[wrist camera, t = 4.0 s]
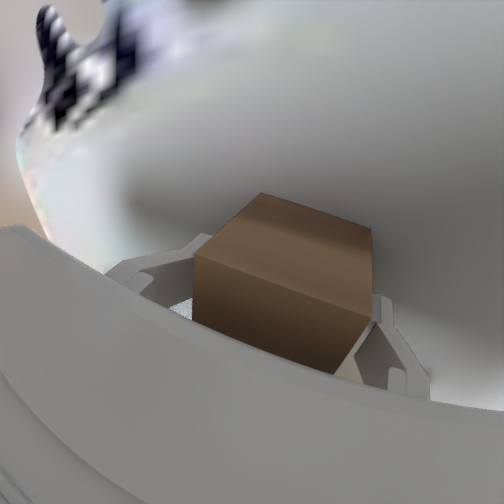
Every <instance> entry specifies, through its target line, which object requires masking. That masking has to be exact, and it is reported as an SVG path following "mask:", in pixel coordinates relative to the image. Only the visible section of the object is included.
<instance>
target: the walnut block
mask: <svg viewBox="0 0 504 504" xmlns="http://www.w3.org/2000/svg"><path fill="white" fill-rule="evenodd" d="M372 296H373V279H372V245H371V229H368V228H366V227H363V226H360V225H357V224H355V223H352V222H349V221H346V220H343V219H341V218H338V217H335V216H332V215H329V214H326V213H323V212H320V211H317V210H314V209H311V208H308V207H305V206H302V205H299V204H296V203H292V202H289V201H286V200H283V199H280V198H276V197H273V196H270V195H267V194H263V193H260V194H259V195H258V196H257V197H256V198H255V199H254V200H252V201H251V202H250V203H249V204H248V205H247V206H246V207H245V208H243V209H242V210H241V211H240V212H239V213H238V214H237V215H236V216H235V217H233V218H232V219H231V220H230V221H229V222H228V223H227V224H226V225H225V226H224V227H222V228H221V229H220V230H219V231H218V232H217V233H216V234H215V235H214V236H213V237H212V238H210V239H209V240H208V241H207V242H206V243H205V244H204V245H203V246H202V247H201V248H200V249H199V250H198V251H197V252H195V253H194V273H193V301H192V321H194V322H197V323H199V324H201V325H203V326H206V327H208V328H210V329H212V330H215V331H217V332H219V333H221V334H224V335H226V336H229V337H231V338H233V339H236V340H238V341H241V342H243V343H245V344H248V345H250V346H253V347H255V348H258V349H261V350H263V351H266V352H268V353H271V354H274V355H276V356H279V357H282V358H285V359H287V360H290V361H293V362H296V363H298V364H301V365H304V366H307V367H310V368H313V369H316V370H319V371H322V372H325V373H328V374H331V375H334V373H335V372H336V371H337V369H338V368H339V367H340V365H341V364H342V362H343V361H344V360H345V358H346V357H347V355H348V354H349V352H350V351H351V349H352V348H353V347H354V345H355V344H356V342H357V341H358V339H359V338H360V336H361V334H362V333H363V331H364V330H365V328H366V327H367V325H368V323H369V322H370V320H371V319H372Z"/></svg>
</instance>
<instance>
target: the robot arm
mask: <svg viewBox="0 0 504 504" xmlns="http://www.w3.org/2000/svg"><path fill="white" fill-rule="evenodd" d="M212 237H213V236H212V235H209V234H206V233H200V234H199V235H198V236H196V237H195V238H194V239H193V240H192V241H191V242H189V243H188V244H187V245H186V246H185V247H183V248H182V249H181V250H177V249H176V250H171V251H166V252H161V253H156V254H151V255H147V256H142V257H137V258H132V259H128V260H123V261H121V262H120V263H119V264H117V265H116V266H115V267H113V268H112V269H111V270H110V271H108V272H107V273H106V274H105V275H103V274H102V273H100V272H98V271H96V270H95V269H93V268H91V267H90V266H88V265H86V264H85V263H83V262H81V261H80V260H78V259H76V258H75V257H73V256H72V255H70V254H68V253H67V252H65V251H64V250H62V249H61V248H59V247H57V246H56V245H54V244H53V243H51V242H50V241H48V240H47V239H45V238H44V237H42V236H41V235H39V234H38V233H36V232H35V231H34V230H32V229H31V228H30V227H28V226H27V225H24V224H14V225H7V226H2V227H0V504H504V411H496V410H487V409H479V408H472V407H465V406H459V405H453V404H447V403H442V402H437V401H432V400H429V383H428V375H427V373H426V372H425V370H424V369H423V367H422V366H421V364H420V362H419V361H418V359H417V358H416V356H415V355H414V353H413V352H412V350H411V349H410V347H409V346H408V344H407V343H406V341H405V340H404V338H403V337H402V336H401V334H400V333H399V331H398V330H397V329H395V328H394V320H393V306H392V300H391V299H390V298H387V297H384V296H381V295H377V294H374V293H373V296H372V319H371V320H370V322H369V323H368V325H367V327H366V328H365V330H364V331H363V333H362V334H361V336H360V338H359V339H358V341H357V342H356V344H355V345H354V347H353V348H352V349H351V351H350V352H349V355H352V356H354V360H355V362H356V365H357V367H358V370H359V373H360V375H361V378H362V380H363V383H364V384H361V383H358V382H354V381H351V380H348V379H344V378H341V377H338V376H334V375H331V374H328V373H325V372H322V371H319V370H316V369H313V368H310V367H307V366H304V365H301V364H298V363H296V362H293V361H290V360H287V359H285V358H282V357H279V356H276V355H274V354H271V353H268V352H266V351H263V350H261V349H258V348H255V347H253V346H250V345H248V344H245V343H243V342H241V341H238V340H236V339H233V338H231V337H229V336H226V335H224V334H221V333H219V332H217V331H215V330H212V329H210V328H208V327H206V326H203V325H201V324H199V323H197V322H194V321H192V320H190V319H188V318H186V317H184V316H182V315H180V314H177V313H175V312H173V311H171V310H169V309H167V308H169V307H171V306H173V305H176V304H178V303H181V302H183V301H185V300H188V299H190V298H192V297H193V273H194V253H195V252H197V251H198V250H199V249H200V248H201V247H202V246H203V245H204V244H205V243H206V242H207V241H208V240H209V239H210V238H212Z"/></svg>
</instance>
